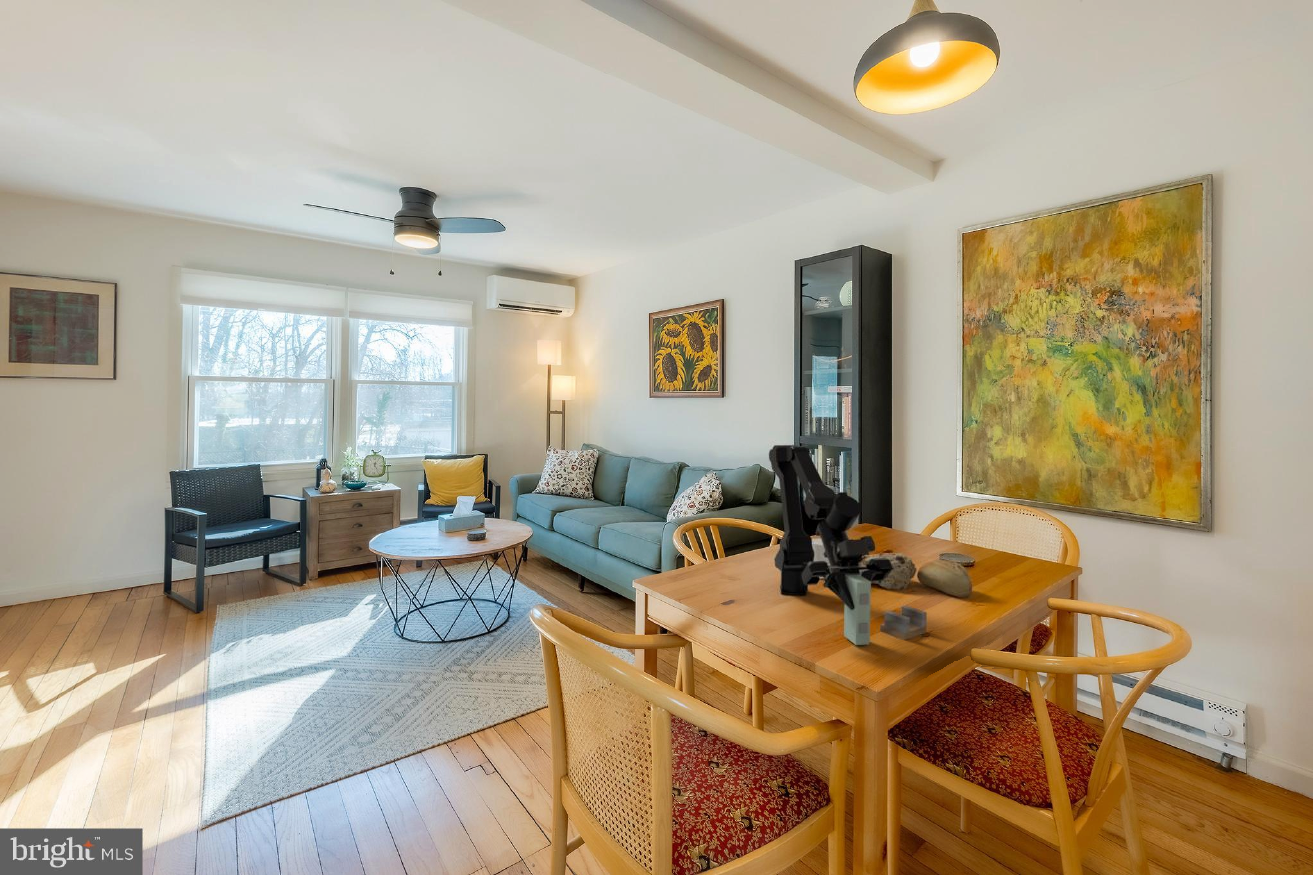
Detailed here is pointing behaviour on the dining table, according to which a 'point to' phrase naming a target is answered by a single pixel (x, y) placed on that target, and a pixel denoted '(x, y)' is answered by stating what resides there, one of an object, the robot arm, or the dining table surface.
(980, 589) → the dining table surface
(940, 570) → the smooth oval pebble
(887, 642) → the dining table surface
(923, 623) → the hinge jig
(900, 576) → the rock
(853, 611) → the pale green tall block
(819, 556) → the white cup
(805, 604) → the dining table surface
